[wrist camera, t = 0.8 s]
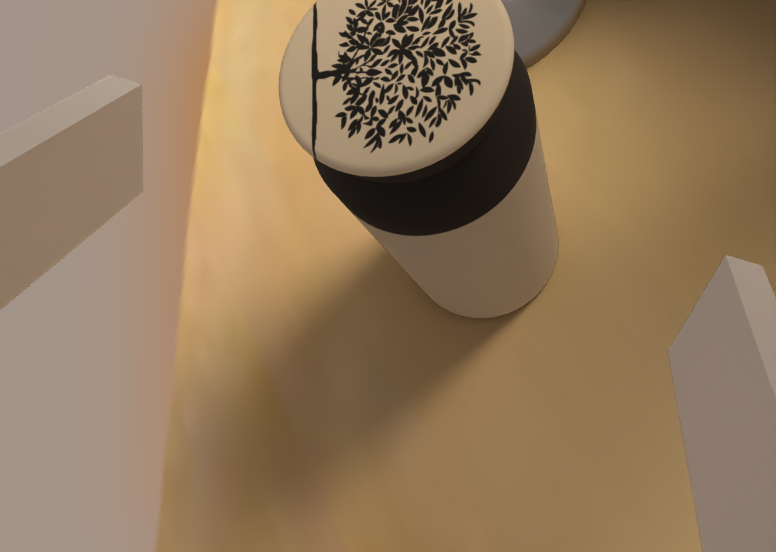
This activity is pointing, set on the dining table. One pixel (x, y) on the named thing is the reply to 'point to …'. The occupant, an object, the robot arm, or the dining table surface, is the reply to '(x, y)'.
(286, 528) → the dining table surface
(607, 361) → the dining table surface
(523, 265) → the travel mug
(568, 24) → the charcoal plate
